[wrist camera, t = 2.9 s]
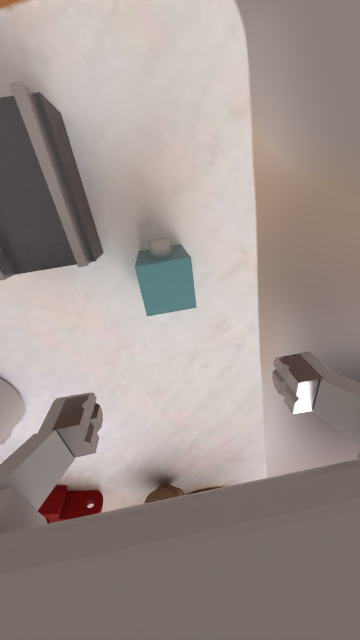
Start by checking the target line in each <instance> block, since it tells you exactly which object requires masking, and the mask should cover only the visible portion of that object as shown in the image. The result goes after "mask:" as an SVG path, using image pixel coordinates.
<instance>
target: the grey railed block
mask: <svg viewBox="0 0 360 640" xmlns="http://www.w3.org/2000/svg"><path fill="white" fill-rule="evenodd" d="M10 86H11V89H12V91H13V94H14V96H10V97H3V98H0V280H5V279H7V278H9V277H11V276H13V275H15V274H20V273H26V272H32V271H38V270H44V269H50V268H57V267H63V266H69V265H75V264H77V265H78V267H83V266H87V265H88V264H89V263H91V262H93V261H96V260H97V259H98V258H99V257H100V256H101V255H102V254H103V250H102V247H101V244H100V240H99V237H98V234H97V230H96V227H95V224H94V221H93V217H92V214H91V211H90V208H89V204H88V201H87V198H86V194H85V191H84V188H83V185H82V181H81V178H80V175H79V172H78V168H77V165H76V162H75V159H74V155H73V152H72V149H71V145H70V142H69V139H68V136H67V132H66V129H65V126H64V123H63V119H62V116H61V113H60V112H59V111H58V110H57V109H56V108H55V107H54V106H53V105H52V104H51V103H50V102H49V101H48V100H47V99H46V98H45V97H44V96H43V95H42V94H41V93H40V92H39V93H33V92H32V91H31V90H30V89H29V88H28V87H27V86H26V85H25V84H24V83H23V82H19V83H12V84H10Z"/></svg>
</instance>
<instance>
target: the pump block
mask: <svg viewBox="0 0 360 640" xmlns="http://www.w3.org/2000/svg"><path fill="white" fill-rule="evenodd" d="M149 246H150V250H145V251H139V253H138V257H137V261H136V265H135V268H136V273H137V277H138V281H139V285H140V289H141V293H142V297H143V301H144V306H145V310H146V314H147V316H152V315H157V314H163V313H169V312H174V311H180V310H186V309H191V308H196V299H195V290H194V281H193V272H192V263H191V257H190V256H189V254H188V253H187V252H186V250H185V249H184V248H183V246H182V245H175V246H170V239H169V238H160V239H155V240H151V241H149Z"/></svg>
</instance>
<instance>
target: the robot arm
mask: <svg viewBox="0 0 360 640" xmlns="http://www.w3.org/2000/svg"><path fill="white" fill-rule="evenodd" d="M274 367H275V368H276V369H275V371H274V372H273V375H272V379H273V383H274V386H275V388H276V390H277V391H278V393H280V394H281V395H283V396H285V398H284V402H285V403H286V405H287V406H288V407H289V409H290V411H291V412H292V414H296V413H302V412H308V411H313V412H314V413H315V414H317V415H318V416H320V417H321V418H323V419H324V420H326V421H327V422H329V423H330V424H332V425H333V426H335V427H336V428H338V429H339V430H341V431H342V432H344V433H345V434H347V435H349V436H350V437H351V438H353V439H355V440H356V441H358V442H359V443H360V383H358V382H355V381H353V380H350V379H348V378H345V377H343V376H336V375H335V374H334V373H333V372H332V371H331V370H330V369H328V368H327V367H326V366H325V365H324V364H323V363H322V362H321V361H320V360H319V359H318V358H317V357H315V356H314V355H313V354H312V353H311V352H304V353H299V354H294V355H289V356H284V357H279V358H275V360H274ZM95 402H96V396H95V394H94V393H85V394H79V395H73V396H68V397H62V398H57V399H56V400H54V402H53V404H52V406H51V408H50V410H49V412H48V414H47V416H46V418H45V420H44V422H43V424H42V426H41V428H40V430H39V432H38V434H34V435H33V436H31V437H30V438H29V439H28V440H27V441H26V442H25V443H24V444H23V445H21V446H20V447H19V448H18V449H17V450H16V451H15V452H14V453H13V454H11V455H10V456H9V457H8V458H7V459H6V460H5V461H4V462H3V463H2V464H0V640H360V451H359V453H358V456H357V458H358V459H357V460H352V461H348V462H342V463H338V464H333V465H328V466H324V467H318V468H313V469H309V470H304V471H299V472H295V473H290V474H285V475H280V476H275V477H270V478H265V479H261V480H256V481H251V482H246V483H241V484H237V485H232V486H227V487H222V488H217V489H212V490H208V491H203V492H198V493H193V494H188V495H184V496H179V497H174V498H169V499H165V500H160V501H155V502H150V503H145V504H141V505H136V506H131V507H126V508H121V509H117V510H112V511H107V512H102V513H98V514H93V515H88V516H83V517H78V518H74V519H69V520H64V521H59V522H54V523H50V524H47V520H46V519H45V518H44V517H43V516H42V515H41V514H40V513H39V512H38V509H39V508H40V507H41V505H42V504H43V502H44V501H45V500H46V498H47V497H48V495H49V494H50V493H51V491H52V490H53V488H54V487H55V486H56V484H57V483H58V482H59V480H60V479H61V477H62V476H63V475H64V473H65V472H66V470H67V469H68V468H69V466H70V465H71V463H72V462H73V461H74V459H75V457H80V456H84V455H89V454H93V453H96V449H97V444H98V440H99V436H98V434H97V432H98V431H99V429H100V428H101V427H102V422H103V413H102V409H101V407H100V405H99V404H97V403H95ZM23 414H24V404H23V401H22V399H21V397H20V395H19V394H18V393H17V391H16V390H15V389H14V388H13V387H12V386H10V385H9V384H8V383H7V382H5V381H4V380H2V379H0V445H1V444H4V443H5V442H6V441H7V440H8V438H9V437H10V434H11V430H12V428H13V427H14V426H15V425H16V424H17V423H18V422H19V421H20V420H21V418H22V416H23Z"/></svg>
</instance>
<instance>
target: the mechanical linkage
mask: <svg viewBox="0 0 360 640" xmlns="http://www.w3.org/2000/svg"><path fill="white" fill-rule="evenodd" d="M91 503H92V504H94V506H93V507H92V508H87V506H88V505H89V504H91ZM102 506H103V496H102V494H101V493H100V492H99V491H98V490H92V491H67V485H62V486H55V487H54V488H53V490H52V491H51V493H50V494H49V495H48V497H47V498H46V500H45V501H44V502H43V504H42V505H41V507H40V508H39V509H38V512H39V513H40V514H41V515H42V516H43V517H44V518H45V519H46V520H47V524H50V523H54V522H59V521H64V520H69V519H74V518H78V517H83V516H88V515H93V514H98V513H101V511H102Z"/></svg>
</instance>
